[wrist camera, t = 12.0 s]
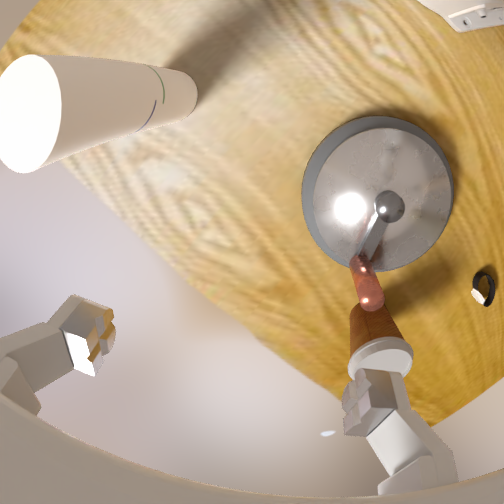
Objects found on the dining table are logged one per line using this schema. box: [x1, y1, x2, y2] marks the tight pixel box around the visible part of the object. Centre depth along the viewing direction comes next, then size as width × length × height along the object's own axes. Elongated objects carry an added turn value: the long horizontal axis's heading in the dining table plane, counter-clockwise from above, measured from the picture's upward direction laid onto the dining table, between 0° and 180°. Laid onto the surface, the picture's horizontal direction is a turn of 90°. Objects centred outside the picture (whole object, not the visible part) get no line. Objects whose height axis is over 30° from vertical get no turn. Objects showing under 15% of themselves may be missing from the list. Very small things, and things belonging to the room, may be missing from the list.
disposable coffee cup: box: [348, 303, 413, 380], centre depth 41 cm, size 10×10×12 cm
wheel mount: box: [301, 116, 454, 272], centre depth 36 cm, size 21×21×2 cm
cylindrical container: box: [0, 55, 198, 173], centre depth 23 cm, size 7×7×25 cm
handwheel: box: [313, 128, 451, 311], centre depth 31 cm, size 19×18×10 cm
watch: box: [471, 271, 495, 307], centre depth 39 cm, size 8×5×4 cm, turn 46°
